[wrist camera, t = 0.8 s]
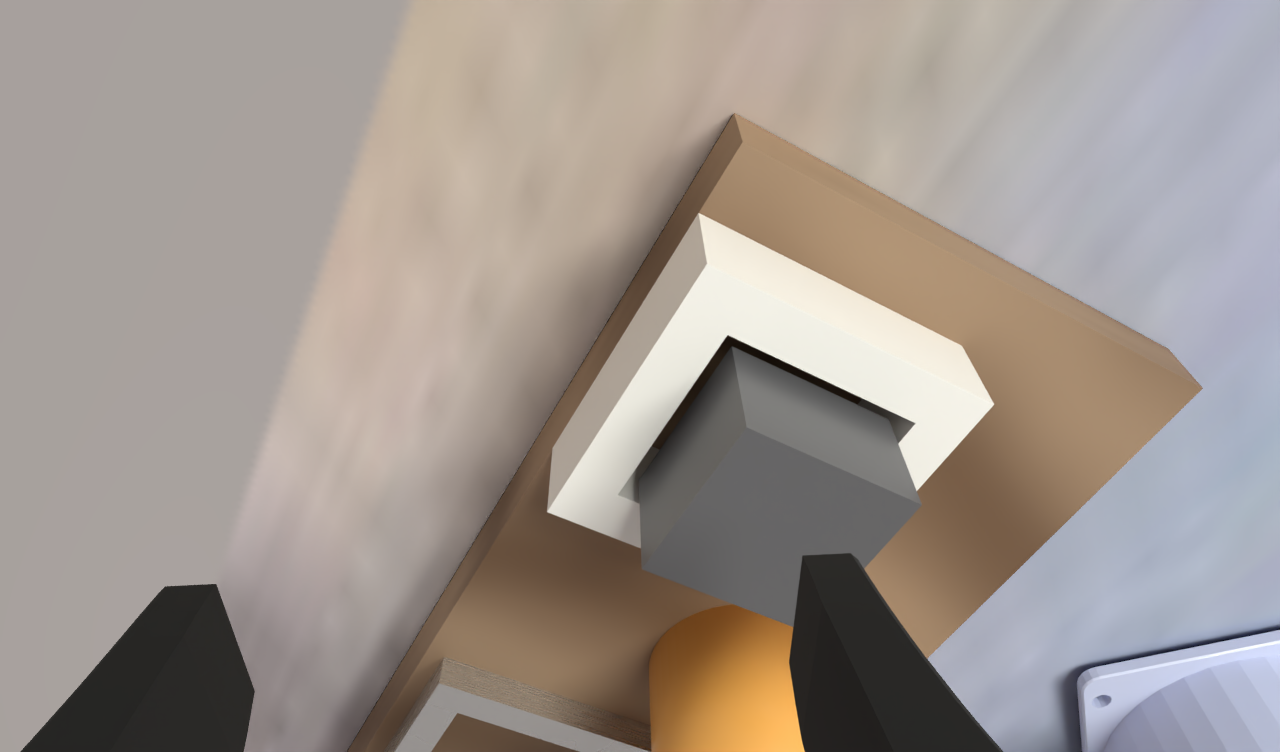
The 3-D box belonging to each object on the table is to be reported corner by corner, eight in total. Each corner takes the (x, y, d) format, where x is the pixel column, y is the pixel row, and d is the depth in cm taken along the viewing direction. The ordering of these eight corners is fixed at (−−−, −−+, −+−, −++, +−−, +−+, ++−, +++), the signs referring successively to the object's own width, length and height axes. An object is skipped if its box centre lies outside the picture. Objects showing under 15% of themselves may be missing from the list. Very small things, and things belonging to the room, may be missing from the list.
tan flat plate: (651, 879, 32) (653, 926, 31) (325, 787, 29) (312, 834, 28) (1168, 349, 21) (1202, 388, 20) (734, 113, 18) (742, 141, 17)
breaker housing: (793, 546, 22) (807, 612, 21) (552, 448, 21) (547, 512, 19) (962, 345, 20) (994, 404, 18) (699, 212, 18) (706, 263, 16)
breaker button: (787, 540, 20) (806, 632, 18) (638, 480, 19) (641, 568, 17) (888, 419, 18) (922, 504, 16) (731, 346, 17) (747, 427, 15)
